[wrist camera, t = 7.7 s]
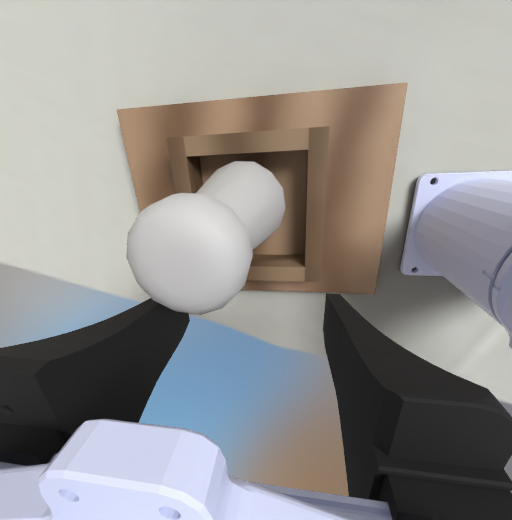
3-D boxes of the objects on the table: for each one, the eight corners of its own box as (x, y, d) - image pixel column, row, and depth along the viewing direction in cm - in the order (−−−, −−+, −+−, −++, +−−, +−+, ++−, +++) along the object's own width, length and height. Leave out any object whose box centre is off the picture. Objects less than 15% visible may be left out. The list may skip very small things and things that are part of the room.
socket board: (400, 87, 16) (426, 69, 13) (371, 286, 22) (384, 310, 19) (126, 112, 20) (91, 103, 16) (163, 281, 25) (143, 300, 22)
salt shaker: (245, 142, 18) (145, 120, 6) (302, 196, 19) (311, 267, 7) (200, 202, 20) (65, 270, 8) (253, 248, 21) (197, 368, 9)
